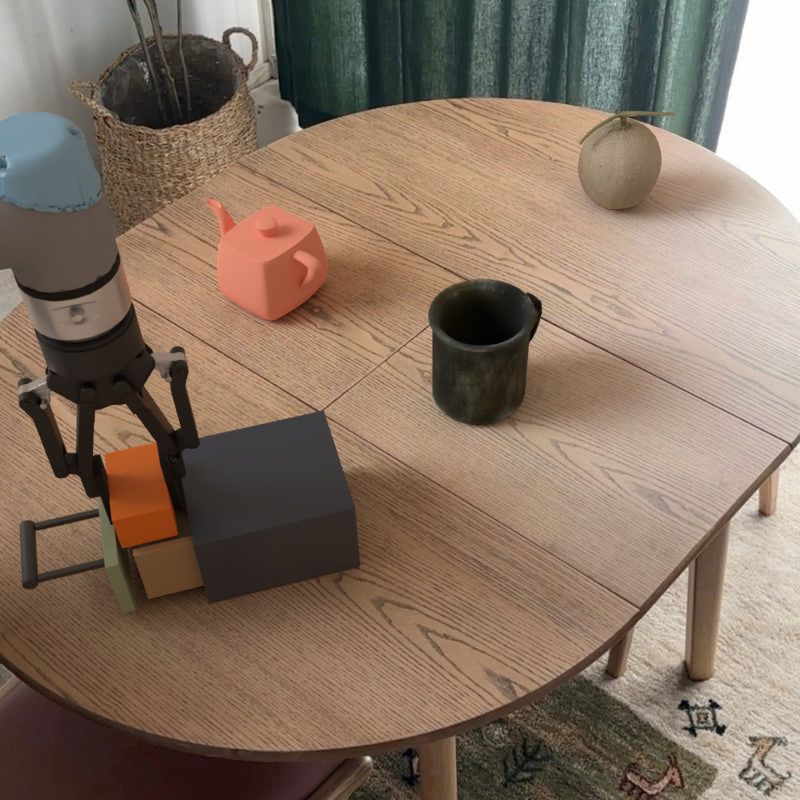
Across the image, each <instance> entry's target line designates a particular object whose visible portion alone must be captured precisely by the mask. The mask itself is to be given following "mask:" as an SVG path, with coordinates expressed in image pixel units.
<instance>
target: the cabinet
mask: <svg viewBox="0 0 800 800" xmlns="http://www.w3.org/2000/svg"><path fill="white" fill-rule="evenodd" d="M199 442H200V445H199V446H198V447H197V448H195V449H188V448H186V449H185V450H183V452H182V456H183V460H184V464H185V469H186V475H185V477H183V478H181V482H182V487H183V493H184V498H185V504H186V509H187V515H188V520H189V526H190V531H191V537H192V542H193V547H194V550H195V554H196V558H197V562H198V565H199V569H200V572H201V576H202V580H203V583H204V590H205V595H206V598H207V601H208V604H214V603H217V602H222V601H226V600H230V599H234V598H238V597H241V596H246V595H250V594H255V593H259V592H262V591H266V590H270V589H274V588H279V587H282V586H286V585H290V584H295V583H299V582H303V581H308V580H310V579H314V578H318V577H323V576H326V575H331V574H335V573H338V572H343V571H347V570H351V569H355V568H360V567H361V559H360V548H359V546H360V545H359V537H358V536H359V535H358V524H357V523H358V522H357V513H356V505H355V502H354V499H353V497H352V494H351V493H352V492H351V489H350V487H349V484H348V481H347V478H346V474H345V471H344V468H343V466H342V462H341V459H340V457H339V454H338V453H339V452H338V451H337V450H338V449H337V447H336V444H335V441H334V437H333V435H332V432H331V428H330V425H329V423H328V418H327V416H326V413H325V411H324V410H319V411H315V412H310V413H304V414H301V415H296V416H291V417H287V418H282V419H278V420H274V421H268V422H264V423H259V424H255V425H250V426H246V427H242V428H237V429H232V430H228V431H227V430H226V431H223V432H219V433H214V434H209V435H204V436H199Z"/></svg>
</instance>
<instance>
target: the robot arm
mask: <svg viewBox="0 0 800 800" xmlns="http://www.w3.org/2000/svg"><path fill="white" fill-rule="evenodd" d="M101 178H102V177H101V175H100V173H99V172H98V171H97V168H96V166H95V162H94V159H93V156H92V153H91V149H90V146H89V145H88V141H87V139H86V136H85V135H84V132H83V131H82V129H81V128H80V127H79V126H78V125H77V124H75V123H74V121H72V120H71V119H68V118H67V117H64V116H62V115H60V114H56V113H53V112H48V111H47V112H46V111H25V112H19V113H13V114H10V115H9V116H8V118H6V119H4V120H0V271H4V270H9V269H10V270H11V272H12V274H13V277H14V280H15V282H16V285H17V287H18V291H19V293H20V295H21V298H22V301H23V304H24V308H25V310H26V313H27V316H28V318H29V320H30V321H29V322H30V323H31V324H32V326H33V329H34V334H35V337H36V339H37V342H38V345H39V348H40V350H41V353H42V356H43V359H44V362H45V364H46V366H45V371H44V373H45V375H43V376H40V377H38V378H37V379H34V380H33V379H31V378H30V377H22V378H20V379H19V380H18V381H17V398H18V407H19V408H20V409H21V410H22V411H23V412H24V413H25V414H26V415H27V416H29V418H31V419H32V421H33V424H34V426H35V429H36V432H37V434H38V437H39V440H40V442H41V444H42V448H43V449H44V452H45V456H47V460H48V463H49V465H50V467H51V471H52V473H53V476H54V477H55V478H56V479H60V480H61V479H65V478H68V477H69V476H70V475H72V476H73V475H74V476H77V477H79V479H80V482H81V484H82V488H83V490H84V492H85V495H86V496H87V498H89V499H90V500H91V499H95V498H97V497H101V500H102V503H103V505H104V508H105V511H106V514H107V516H108V519H109V522H110V525H113V522H112V516H111V508H110V499H109V497H110V494H109V485H108V477H107V472H106V466H105V463H104V461H103V458H102V456H101V453H97V454H94V445H95V444H94V443H95V441H94V440H95V439H94V438H95V423H96V411H101V410H104V409H106V408H108V407H110V406H123V405H125V406H126V407H127V408H128V410H129V411H130V412H131V413H132V415H136V417H137V418H138V420H139V421H140V422H141V424H142V425H143V426H144V428H145V429H146V430H147V432H148V433H149V435H150V436H151V437H152V438H153V440H154V442H156V443H157V449H158V455H159V461H160V466H161V469H162V473H163V476H164V480H165V483H166V485H167V488H168V491H169V495H170V498H171V501H172V505H173V508H174V510H178V509H182V507H181V501H180V496H179V490H178V485H177V482H176V479H178V478H183V477H185V475H186V469H185V464H184V460H183V456H182V452H183V450H185V449H186V448H188V449H195V448H197V447H198V446H199V445H200V442H199V438H200V436H199V433H198V432H199V431H198V427H197V423H196V419H195V415H194V411H193V407H192V403H191V399H190V395H189V392H188V391H189V390H188V387H187V381H188V378H189V377H188V376H189V372H190V370H189V365H188V360H187V355H186V351H185V348H184V347H183V346H180V345H177V346H176V345H175V346H173V347H171V348H170V350H169V352H154V350H153V348H152V347H151V346H150V345H148V344H147V343H146V342H145V341H144V337H143V334H142V330H141V327H140V326H141V325H140V323H139V319H138V315H137V312H136V308H135V305H134V303H133V301H132V292H131V290H130V285H129V281H128V279H127V273H126V271H125V267H124V264H123V259H122V255H121V254H120V250H119V248H118V243H117V239H116V236H115V231H114V228H113V224H112V220H111V216H110V211H109V207H108V202H107V200H106V196H105V192H104V191H105V190H104V188H103V183H102V179H101ZM154 370H157V371H158V372H159V374H160V377H161V378H162V379H163V380H164V381H165V382H166V383H169V388H170V393H171V398H172V401H173V405H174V408H175V412H176V416H177V419H178V423H179V428H176V429H175V428H174V427H173V425H172V424H171V422H170V421H169V420H168V418H167V416H166V415H165V414H164V412H163V411H162V409H161V408H160V407H159V405H158V404H157V402H156V401H155V399H154V398H153V397H152V395H151V394H150V392H149V391H148V390H147V388H146V386H145V385H146V383H147V382H148V380H149V378H150V377H151V375H152V373H153V371H154ZM51 392H53V393H55V394H57V395H59V396H61V398H64V399H66V400H68V401H70V402H71V403H74V404H75V405H76V419H75V420H76V423H75V424H76V427H75V428H76V429H75V447H74V450H75V452H68V449H67V447H66V445H65V442H64V439H63V436H62V433H61V430H60V428H59V426H58V422H57V420H56V417H55V414H54V412H53V409H52V407H51V404H50V403H52V402H51V401H52V398H51Z"/></svg>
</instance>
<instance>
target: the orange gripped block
mask: <svg viewBox="0 0 800 800" xmlns="http://www.w3.org/2000/svg"><path fill="white" fill-rule="evenodd" d="M103 456H104V466H105V469H106V472H107V477H108V485H109V494H110V497H109V499H110V508H111V516H112V522H113V525H114V528H115V530H116V533H117V536H118V539H119V541H120V544H121V547H122V548H126V547H128V548H129V547H134V546H140V544H143V543H147V542H151V541H156V540H160V539H164V538H168V537H172V536H177V535H178V529H177V523H176V518H175V512H174V508H173V505H172V501H171V498H170V495H169V491H168V488H167V485H166V483H165V480H164V476H163V473H162V469H161V466H160V461H159V455H158V449H157V443H156V441H154V442H151V443H146V444H141V445H138V446H133V447H128V448H123V449H120V450H115V451H111V452H107V453H104V455H103Z"/></svg>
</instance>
